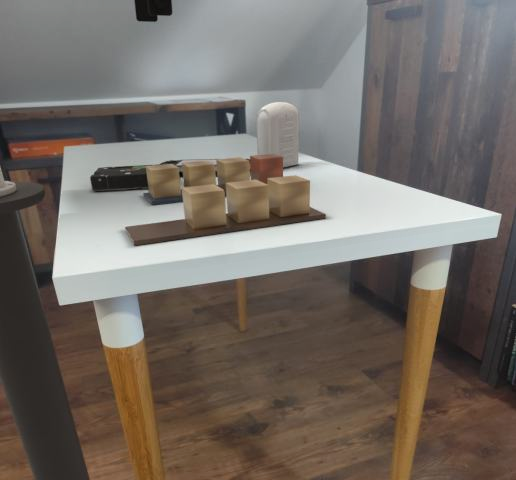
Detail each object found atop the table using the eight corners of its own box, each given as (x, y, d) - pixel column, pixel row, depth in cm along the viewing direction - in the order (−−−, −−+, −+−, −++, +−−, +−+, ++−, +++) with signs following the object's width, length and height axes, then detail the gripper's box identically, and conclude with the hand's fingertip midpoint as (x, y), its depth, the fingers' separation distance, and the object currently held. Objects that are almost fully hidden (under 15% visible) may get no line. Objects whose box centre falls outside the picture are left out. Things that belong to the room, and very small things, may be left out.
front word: (134, 245, 59) (127, 203, 57) (125, 231, 65) (119, 192, 62) (325, 218, 67) (327, 180, 65) (303, 207, 73) (303, 172, 70)
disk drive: (92, 193, 87) (176, 187, 89) (89, 177, 86) (174, 170, 87) (100, 182, 96) (176, 176, 98) (97, 167, 95) (174, 161, 96)
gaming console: (155, 178, 98) (154, 164, 97) (167, 169, 106) (165, 157, 104) (252, 176, 96) (251, 162, 95) (256, 168, 104) (256, 155, 102)
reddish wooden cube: (260, 186, 84) (259, 159, 82) (250, 181, 87) (249, 155, 85) (283, 183, 85) (283, 156, 83) (273, 179, 89) (273, 153, 87)
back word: (151, 205, 77) (147, 172, 75) (143, 196, 83) (139, 165, 80) (290, 188, 85) (290, 158, 82) (274, 181, 90) (273, 152, 88)
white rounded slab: (285, 163, 108) (285, 100, 102) (301, 164, 106) (301, 100, 100) (254, 170, 101) (252, 103, 95) (270, 172, 99) (269, 104, 93)
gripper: (101, -122, 69) (118, 22, 78) (119, -172, 55) (138, 11, 64) (154, -116, 72) (165, 24, 80) (184, -162, 58) (194, 13, 66)
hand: (153, 18), depth 72 cm, fingers open, 9 cm apart
